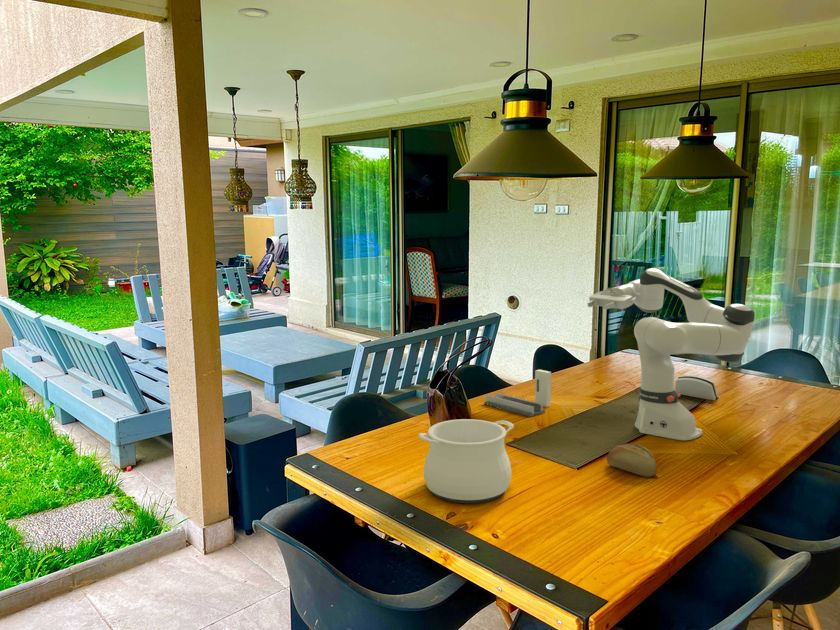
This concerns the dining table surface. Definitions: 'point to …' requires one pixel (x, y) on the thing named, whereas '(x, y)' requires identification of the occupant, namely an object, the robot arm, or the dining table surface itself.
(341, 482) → the dining table surface
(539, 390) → the white rectangular block
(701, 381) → the white curved block
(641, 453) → the bread roll
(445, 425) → the pot
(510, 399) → the track
